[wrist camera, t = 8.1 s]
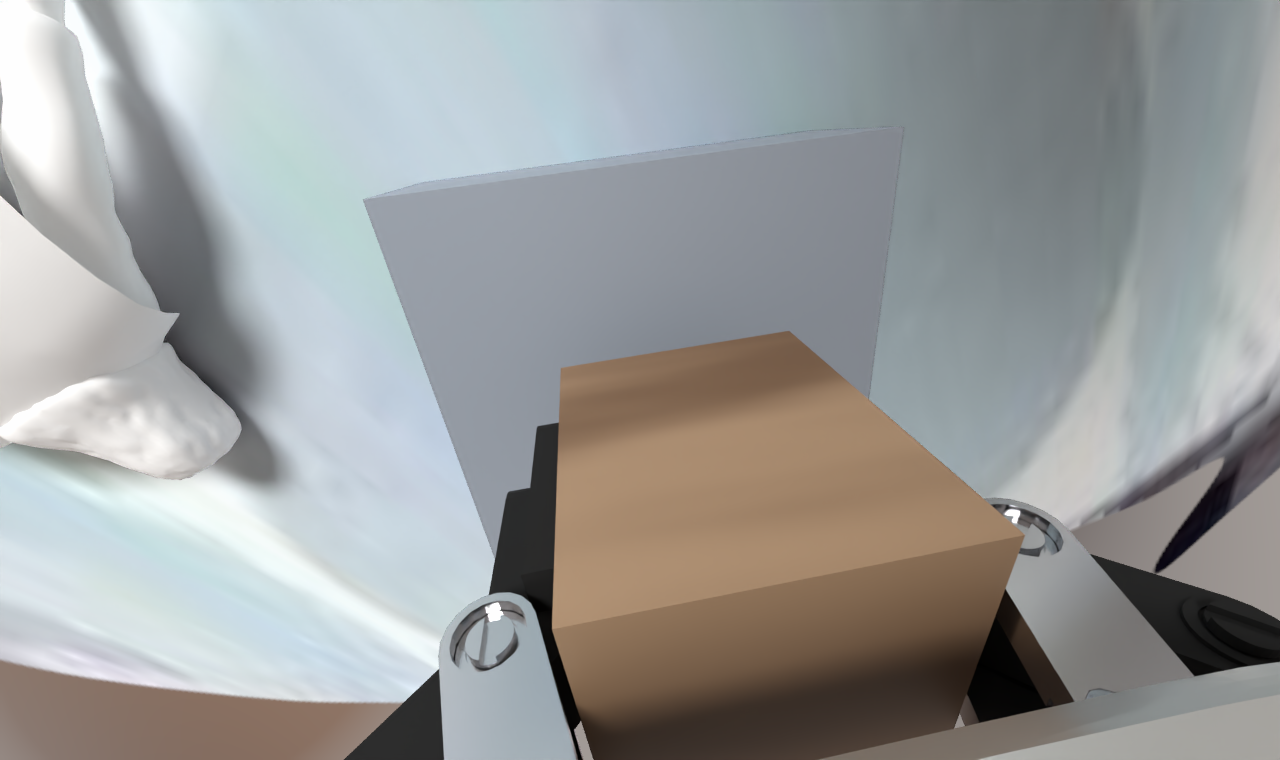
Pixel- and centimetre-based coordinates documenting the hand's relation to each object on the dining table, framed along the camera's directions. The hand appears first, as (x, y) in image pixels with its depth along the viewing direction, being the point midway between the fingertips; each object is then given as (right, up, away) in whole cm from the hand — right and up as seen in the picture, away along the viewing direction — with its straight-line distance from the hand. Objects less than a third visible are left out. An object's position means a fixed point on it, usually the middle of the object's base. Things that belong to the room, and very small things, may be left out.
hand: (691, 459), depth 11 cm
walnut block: (0, 0, +1) cm, 1 cm away
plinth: (-1, +4, +7) cm, 8 cm away
